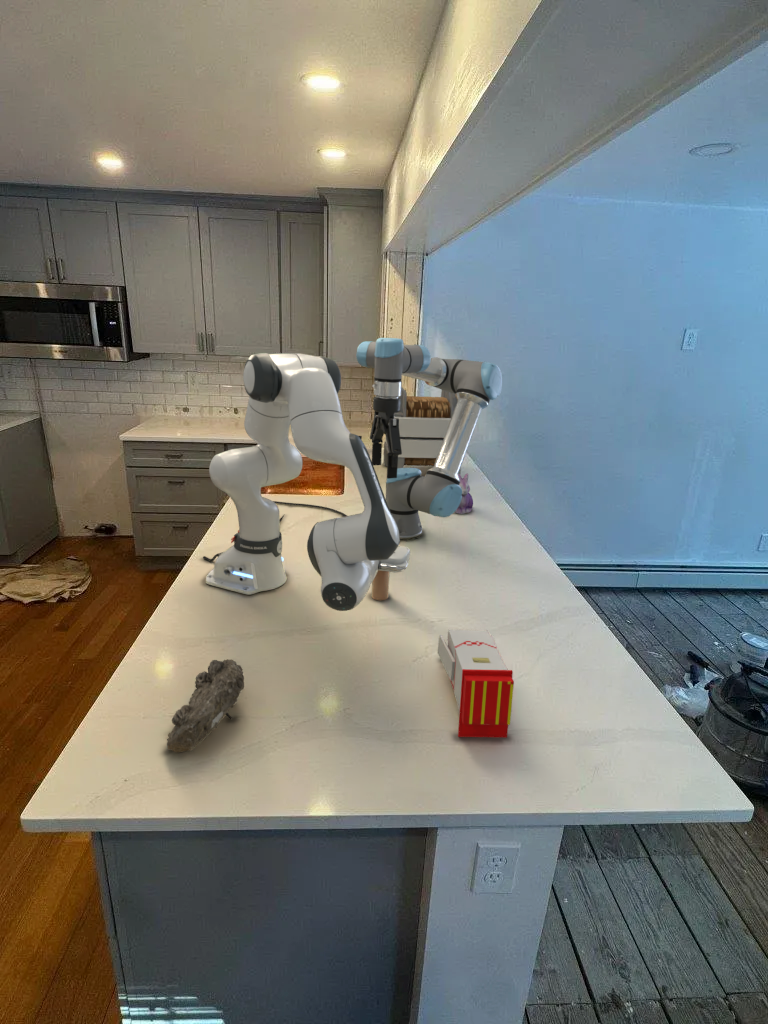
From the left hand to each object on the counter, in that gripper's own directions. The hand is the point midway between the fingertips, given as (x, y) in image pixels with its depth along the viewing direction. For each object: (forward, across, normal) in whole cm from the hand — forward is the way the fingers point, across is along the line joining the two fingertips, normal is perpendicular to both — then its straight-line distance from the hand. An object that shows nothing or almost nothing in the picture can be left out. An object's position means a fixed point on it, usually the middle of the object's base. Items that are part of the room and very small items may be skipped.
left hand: (372, 541), depth 138 cm
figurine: (+91, -17, +21) cm, 95 cm away
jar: (+12, 0, +21) cm, 25 cm away
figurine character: (+171, +48, +21) cm, 179 cm away
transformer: (+140, +8, +21) cm, 141 cm away
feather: (+61, +47, +21) cm, 80 cm away
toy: (-23, -27, +21) cm, 41 cm away
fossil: (-44, +21, +21) cm, 53 cm away
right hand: (+30, +4, -9) cm, 32 cm away
